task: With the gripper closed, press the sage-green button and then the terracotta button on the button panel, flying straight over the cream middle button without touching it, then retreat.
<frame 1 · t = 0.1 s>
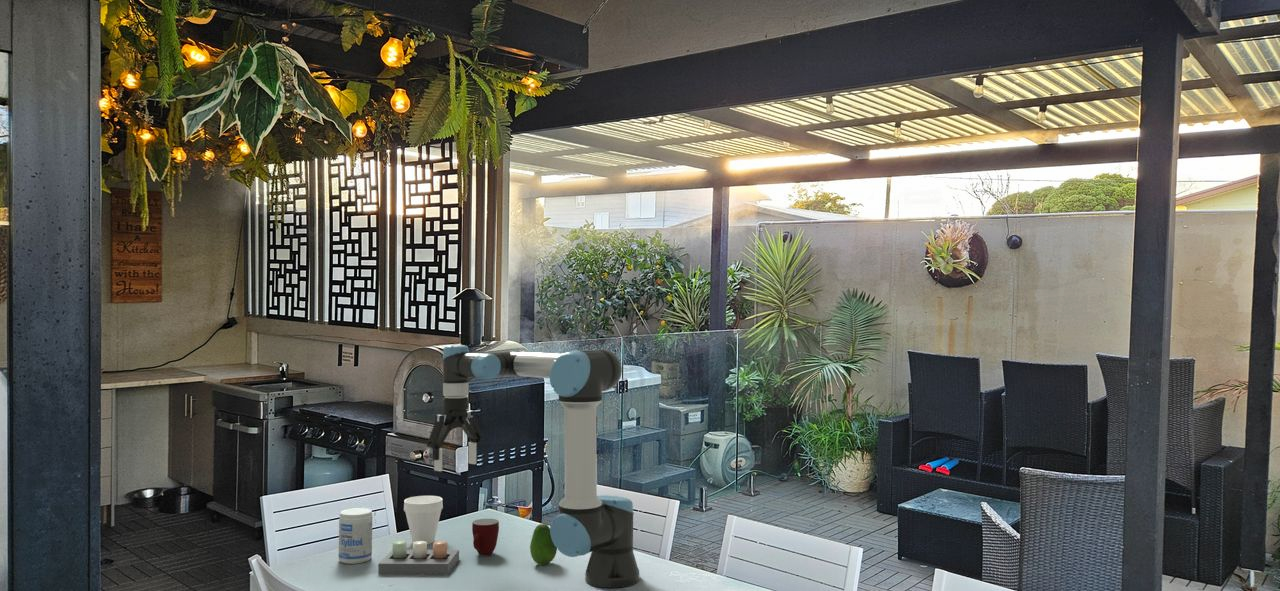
hand: (455, 467, 262), 28 cm above the table, fingers open, 13 cm apart
button panel: (419, 566, 255), on the table
fruit: (543, 565, 257), on the table
supplement tub: (355, 560, 262), on the table
mug: (484, 556, 266), on the table
button cream: (419, 549, 255), point 5 cm above the table, slide at 0.0 cm
button terracotta: (440, 549, 255), point 5 cm above the table, slide at 0.0 cm
cup: (423, 542, 282), on the table
button sage: (399, 549, 255), point 5 cm above the table, slide at 0.0 cm
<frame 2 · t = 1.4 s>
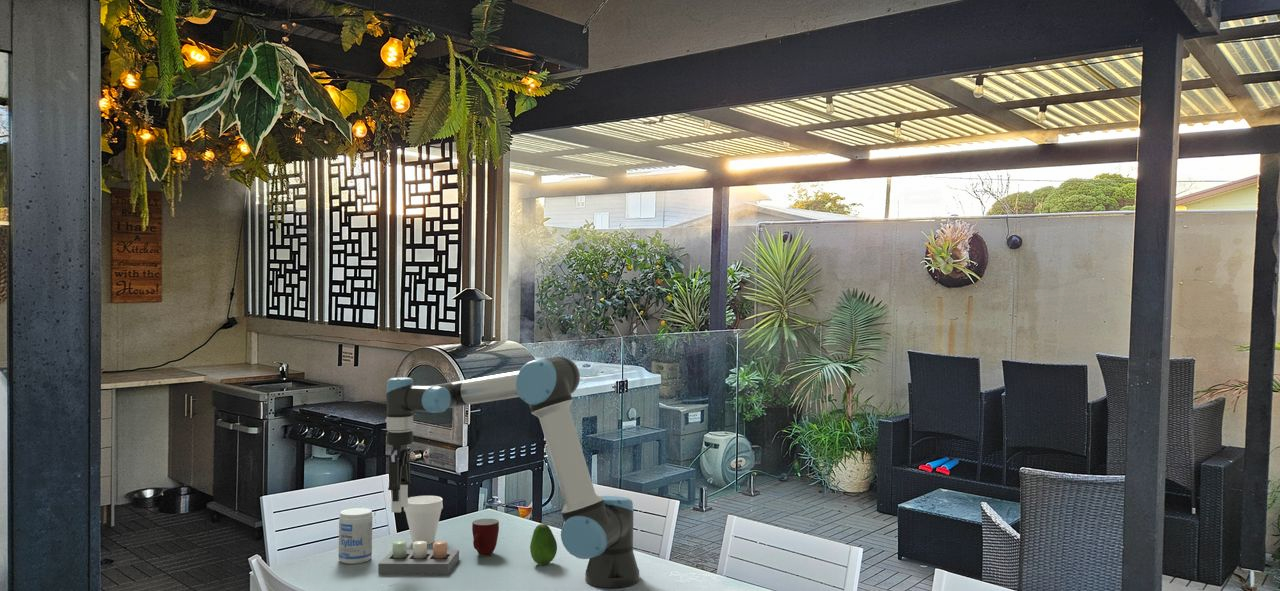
hand: (399, 509, 255), 17 cm above the table, fingers open, 6 cm apart
nothing on the table moved.
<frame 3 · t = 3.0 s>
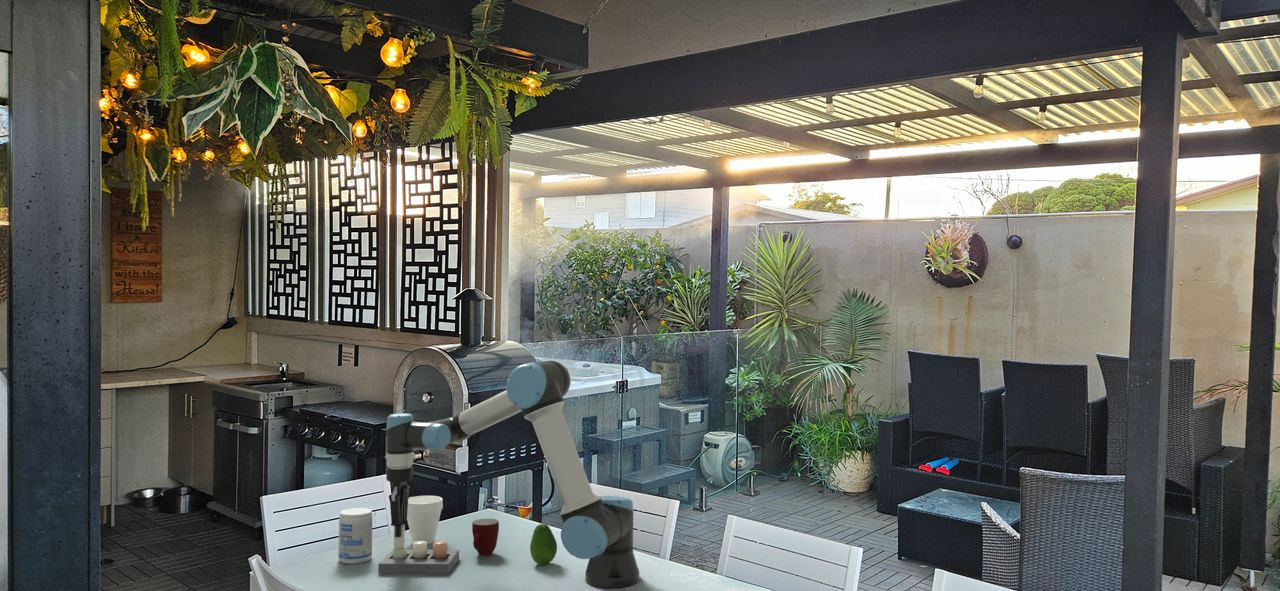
hand: (399, 546, 255), 6 cm above the table, fingers closed
button sage: (399, 554, 255), point 3 cm above the table, slide at 1.5 cm, touching gripper
everything else where it was.
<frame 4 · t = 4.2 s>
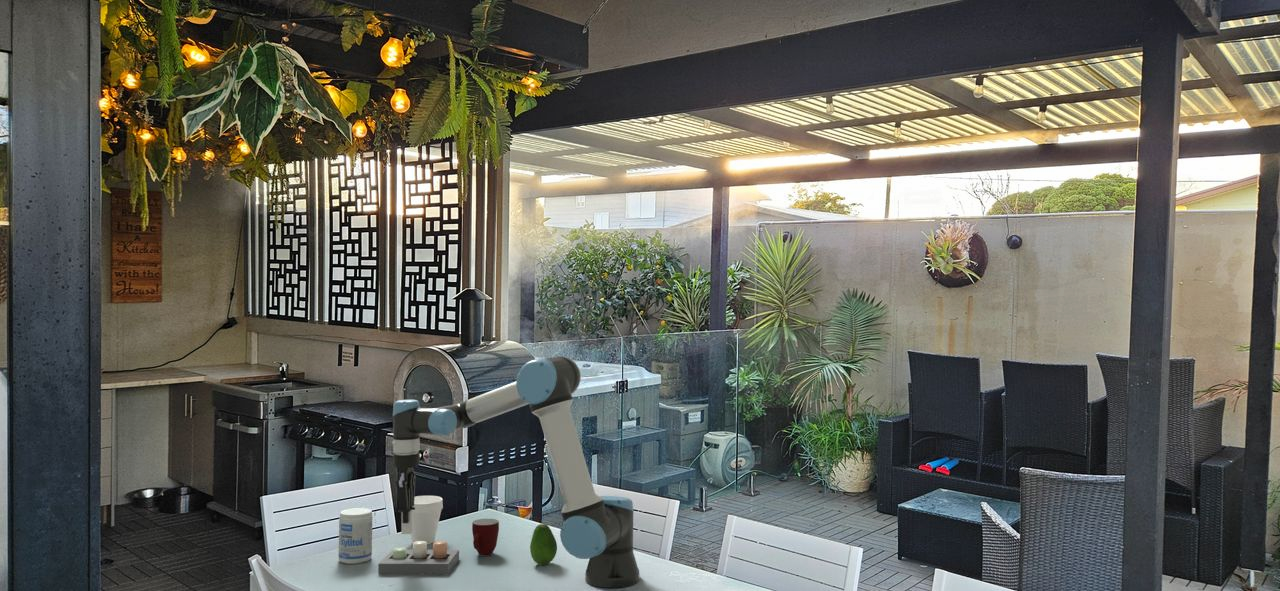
hand: (406, 533, 255), 10 cm above the table, fingers closed
button sage: (399, 556, 255), point 3 cm above the table, slide at 2.0 cm
everything else where it was.
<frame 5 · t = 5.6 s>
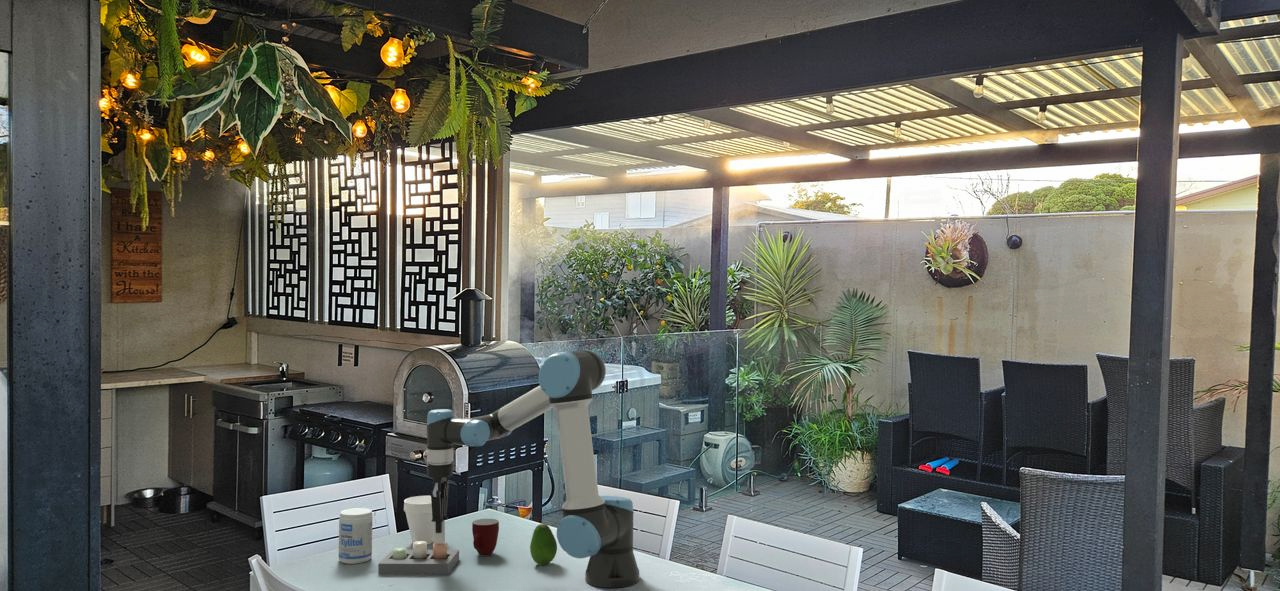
hand: (439, 542, 255), 7 cm above the table, fingers closed
button terracotta: (440, 550, 255), point 5 cm above the table, slide at 0.3 cm, touching gripper
everything else where it was.
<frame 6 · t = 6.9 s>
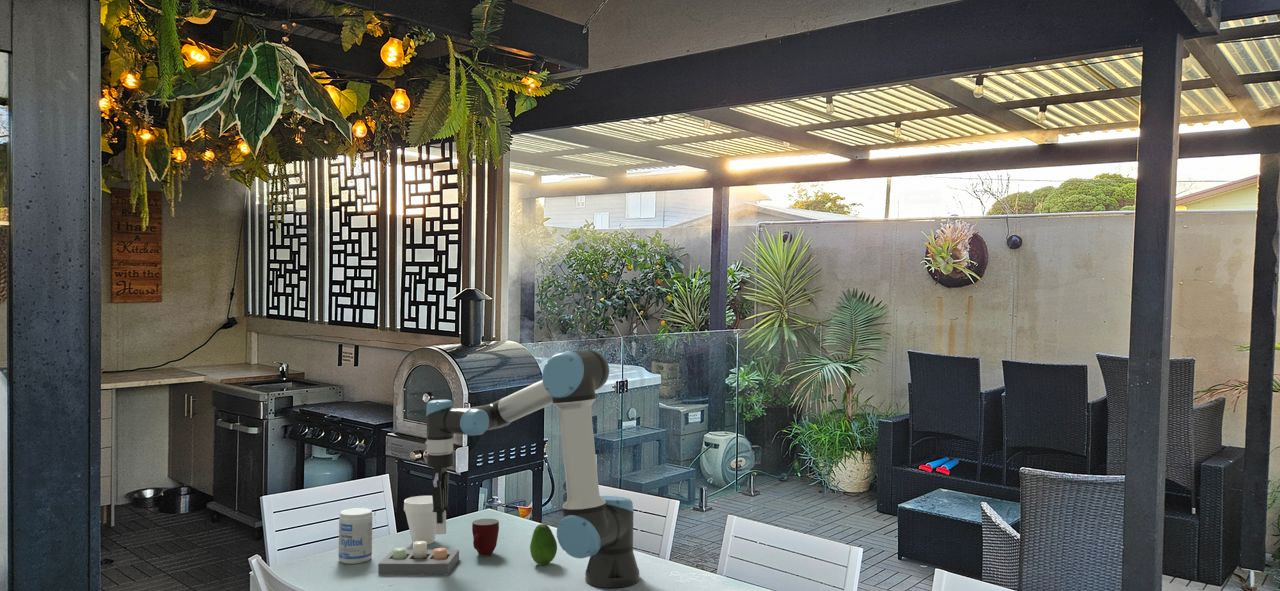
hand: (441, 533, 255), 10 cm above the table, fingers closed
button terracotta: (440, 556, 255), point 3 cm above the table, slide at 2.0 cm
everything else where it was.
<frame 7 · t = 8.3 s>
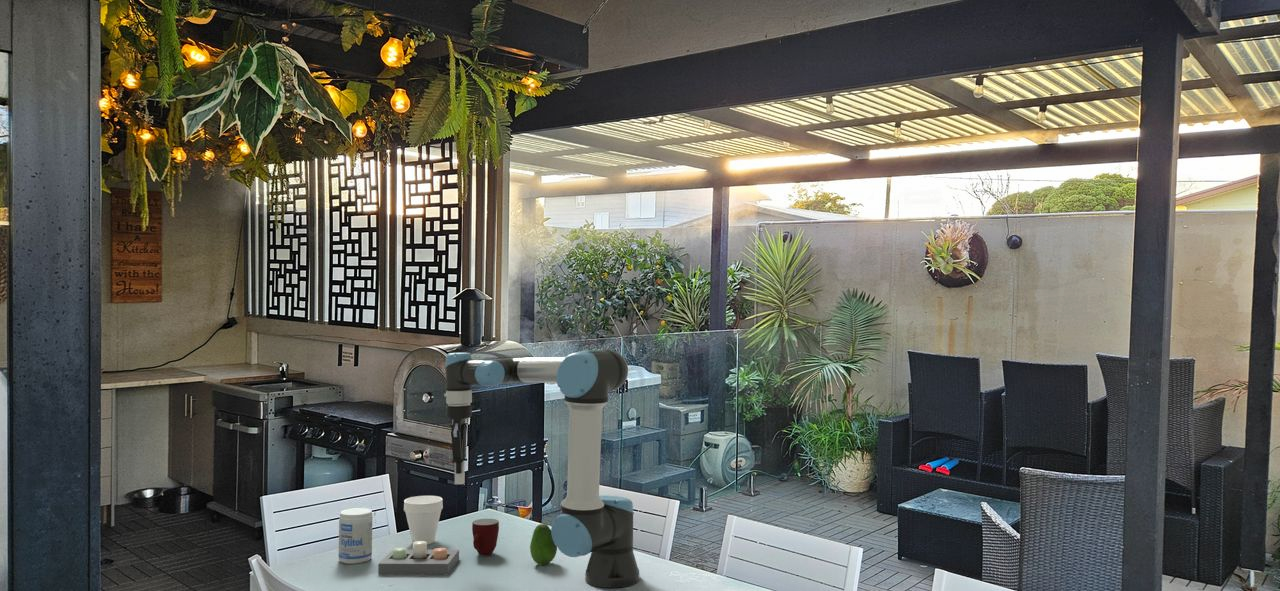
hand: (459, 483, 259), 24 cm above the table, fingers closed
nothing on the table moved.
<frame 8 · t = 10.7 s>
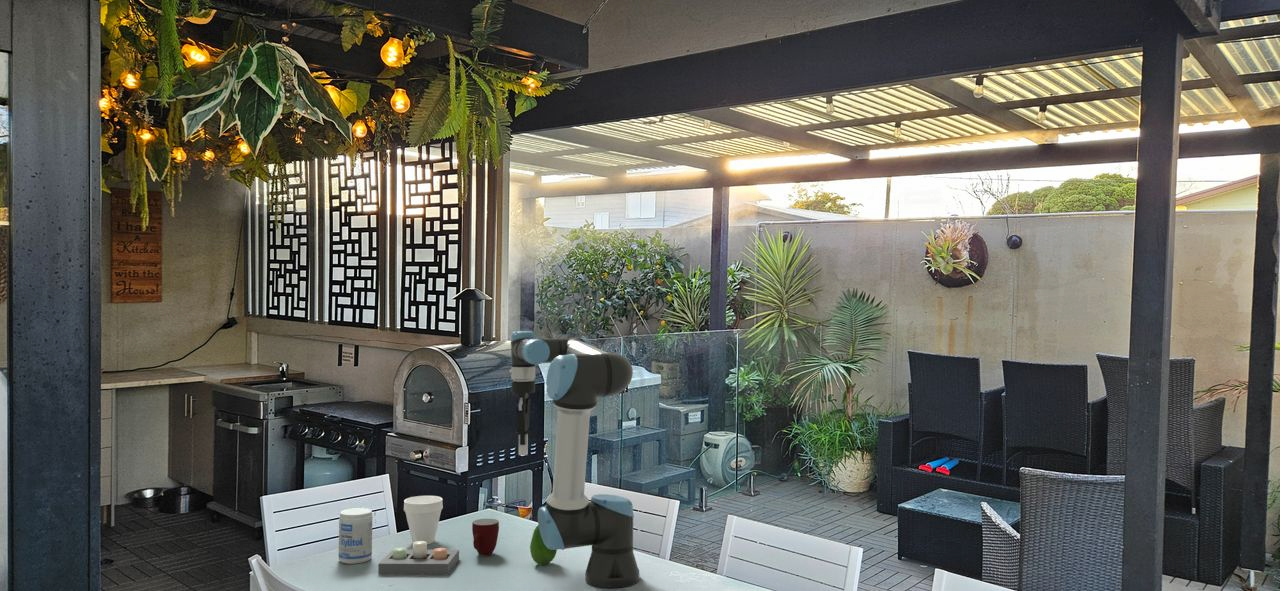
hand: (523, 454, 275), 29 cm above the table, fingers closed
nothing on the table moved.
at the end: button sage slide at 2.0 cm; button terracotta slide at 2.0 cm; button cream slide at 0.0 cm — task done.
